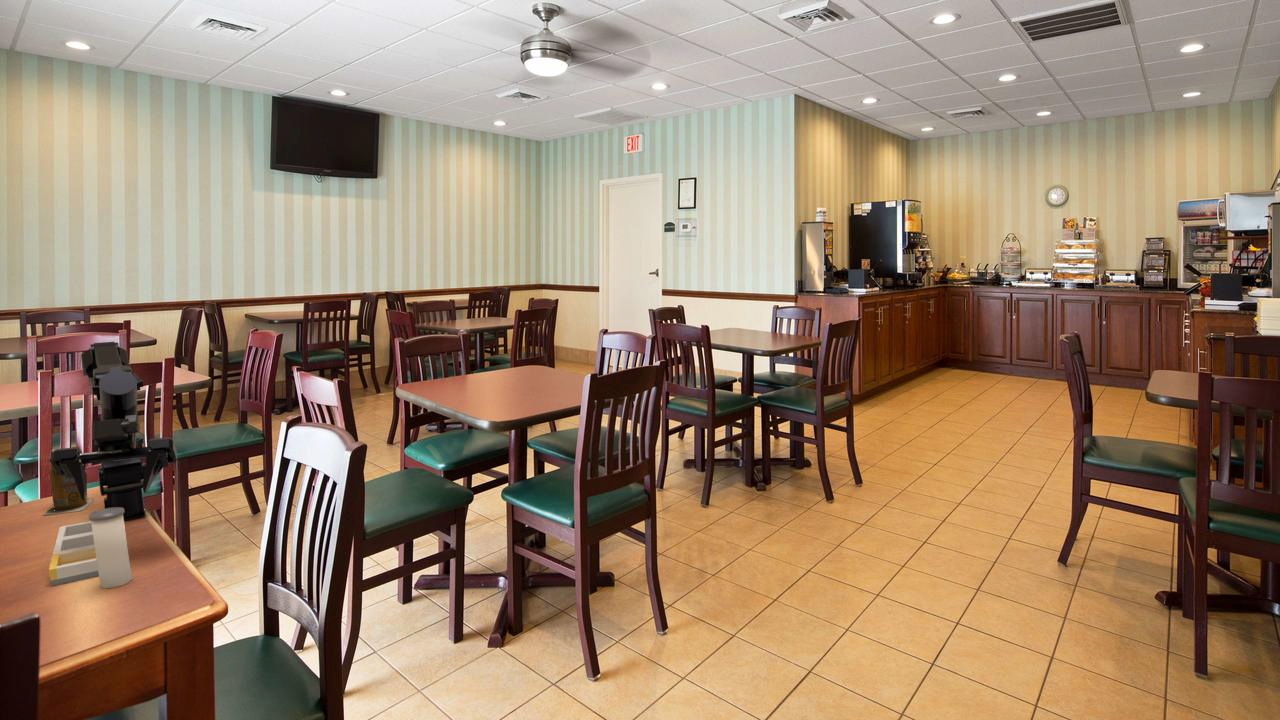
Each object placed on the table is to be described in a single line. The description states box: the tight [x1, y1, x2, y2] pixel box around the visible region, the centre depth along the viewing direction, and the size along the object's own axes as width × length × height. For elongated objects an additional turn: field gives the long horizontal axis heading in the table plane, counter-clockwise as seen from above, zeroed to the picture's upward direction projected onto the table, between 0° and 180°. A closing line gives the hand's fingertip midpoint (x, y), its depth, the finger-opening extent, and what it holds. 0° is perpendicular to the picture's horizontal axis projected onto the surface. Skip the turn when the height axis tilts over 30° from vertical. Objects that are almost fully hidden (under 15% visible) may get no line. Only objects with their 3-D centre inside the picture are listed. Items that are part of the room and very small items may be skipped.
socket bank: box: [48, 520, 99, 587], centre depth 135 cm, size 8×24×3 cm, turn 35°
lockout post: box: [88, 507, 133, 589], centre depth 124 cm, size 5×5×13 cm
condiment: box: [42, 457, 94, 516], centre depth 161 cm, size 7×8×12 cm
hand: (114, 495), depth 130 cm, fingers open, 9 cm apart
